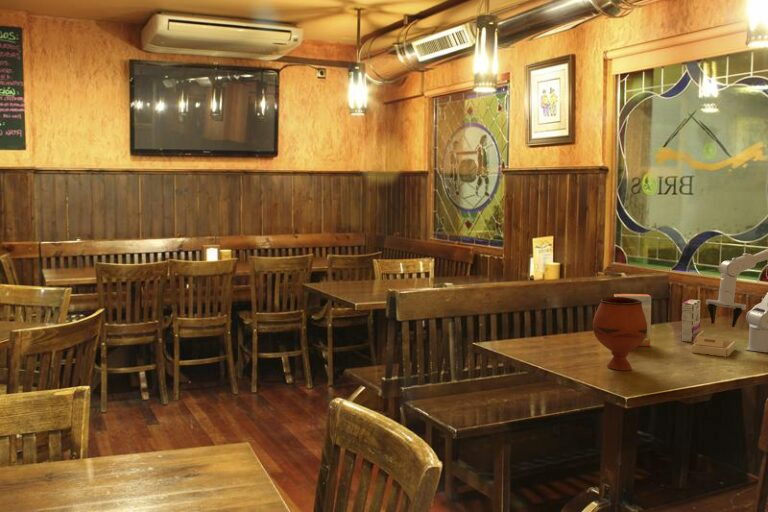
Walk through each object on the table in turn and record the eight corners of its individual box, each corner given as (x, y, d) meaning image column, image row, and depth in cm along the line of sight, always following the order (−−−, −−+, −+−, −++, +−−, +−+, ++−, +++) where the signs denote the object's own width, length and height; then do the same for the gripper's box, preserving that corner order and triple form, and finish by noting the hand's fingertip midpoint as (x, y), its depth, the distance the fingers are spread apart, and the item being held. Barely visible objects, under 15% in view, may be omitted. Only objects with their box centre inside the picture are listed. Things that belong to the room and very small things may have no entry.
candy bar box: (687, 336, 331) (689, 299, 329) (699, 338, 328) (701, 300, 326) (680, 341, 322) (681, 302, 320) (692, 342, 319) (694, 303, 317)
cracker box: (646, 343, 318) (648, 293, 315) (650, 346, 312) (652, 296, 309) (612, 342, 319) (613, 293, 317) (615, 346, 313) (616, 295, 311)
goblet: (604, 358, 292) (606, 293, 289) (654, 366, 280) (657, 299, 277) (582, 368, 277) (584, 300, 274) (634, 377, 265) (637, 306, 262)
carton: (735, 349, 308) (735, 340, 307) (727, 357, 294) (728, 348, 294) (700, 345, 315) (701, 337, 315) (691, 352, 301) (692, 344, 301)
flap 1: (704, 330, 312) (703, 330, 312) (697, 336, 301) (696, 335, 301) (700, 337, 313) (699, 336, 313) (693, 343, 302) (692, 342, 302)
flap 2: (697, 336, 301) (697, 336, 301) (723, 339, 296) (723, 339, 295) (696, 344, 300) (696, 343, 300) (722, 347, 295) (722, 347, 294)
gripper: (705, 289, 303) (701, 322, 304) (744, 294, 294) (740, 329, 295) (709, 287, 308) (706, 321, 310) (748, 293, 300) (744, 327, 301)
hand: (723, 325), depth 303 cm, fingers open, 7 cm apart
